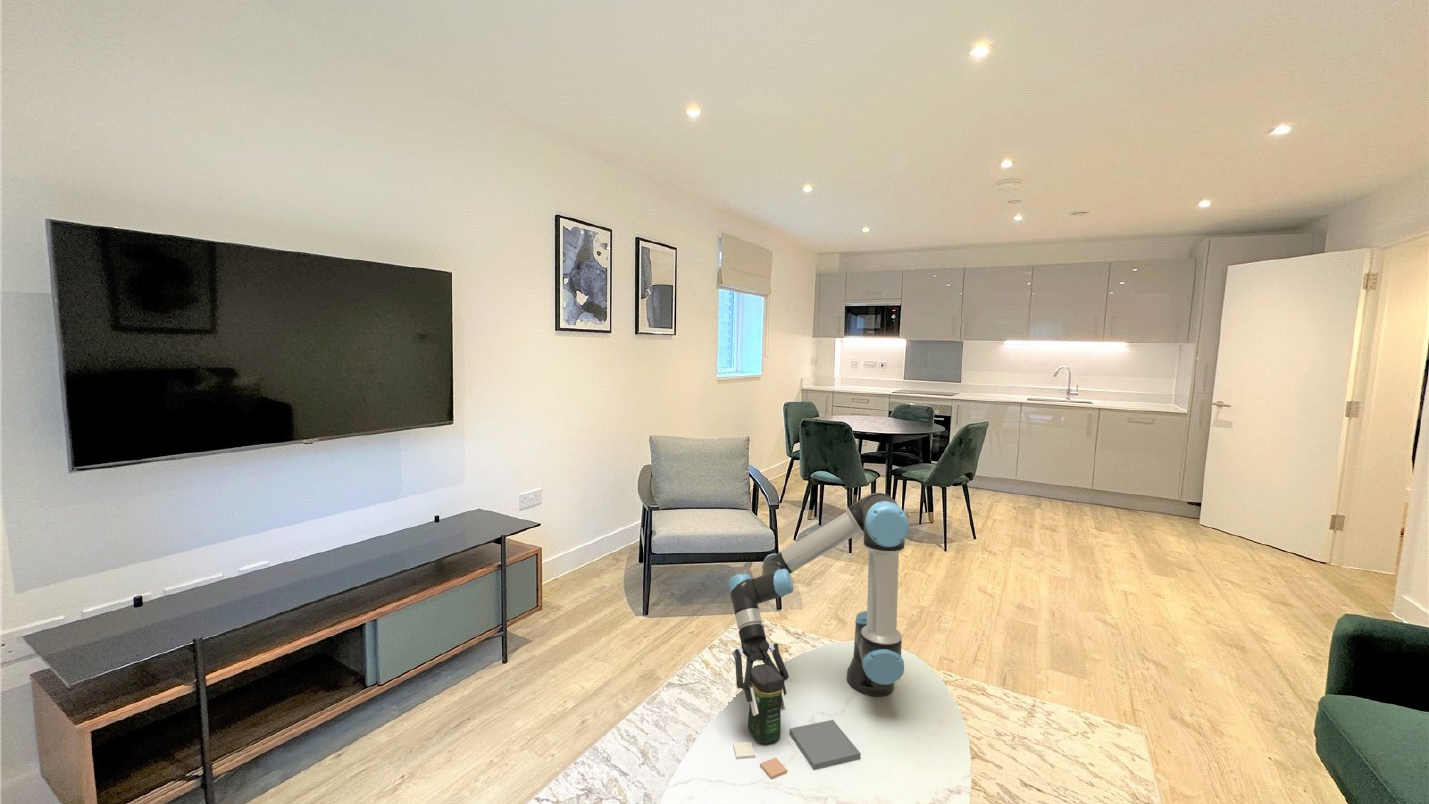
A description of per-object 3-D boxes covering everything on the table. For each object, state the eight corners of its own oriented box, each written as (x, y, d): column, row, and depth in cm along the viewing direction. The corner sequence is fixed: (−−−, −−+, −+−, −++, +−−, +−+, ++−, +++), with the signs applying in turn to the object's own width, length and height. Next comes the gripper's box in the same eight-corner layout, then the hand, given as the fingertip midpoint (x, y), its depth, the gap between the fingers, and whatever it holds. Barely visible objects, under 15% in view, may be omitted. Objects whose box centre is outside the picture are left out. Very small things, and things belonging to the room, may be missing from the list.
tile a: (775, 761, 146) (775, 757, 145) (787, 774, 141) (787, 770, 141) (759, 768, 143) (760, 763, 143) (771, 781, 139) (771, 776, 139)
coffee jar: (784, 741, 153) (788, 677, 151) (759, 748, 149) (762, 683, 148) (767, 719, 161) (770, 658, 160) (743, 725, 158) (746, 664, 156)
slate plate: (832, 724, 160) (833, 719, 160) (860, 758, 147) (860, 753, 147) (789, 733, 156) (789, 728, 156) (813, 769, 143) (814, 764, 142)
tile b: (750, 745, 151) (751, 741, 151) (754, 759, 146) (755, 755, 146) (732, 747, 150) (733, 743, 150) (736, 761, 145) (736, 756, 145)
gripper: (777, 627, 171) (799, 708, 158) (714, 635, 164) (731, 721, 151) (786, 618, 166) (809, 702, 152) (721, 627, 159) (739, 715, 145)
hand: (770, 711), depth 151 cm, fingers closed on coffee jar, 8 cm apart
